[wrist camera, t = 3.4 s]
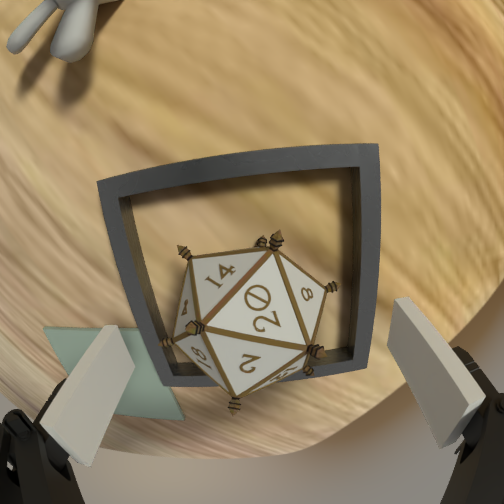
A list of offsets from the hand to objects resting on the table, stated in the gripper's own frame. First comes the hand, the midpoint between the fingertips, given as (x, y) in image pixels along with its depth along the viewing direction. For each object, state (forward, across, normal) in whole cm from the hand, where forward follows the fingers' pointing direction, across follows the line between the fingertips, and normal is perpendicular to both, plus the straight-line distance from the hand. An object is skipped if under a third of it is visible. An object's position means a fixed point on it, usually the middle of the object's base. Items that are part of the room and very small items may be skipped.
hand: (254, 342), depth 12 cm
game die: (+6, 0, 0) cm, 6 cm away
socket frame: (+6, 0, 0) cm, 6 cm away
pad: (+6, -14, -8) cm, 17 cm away
